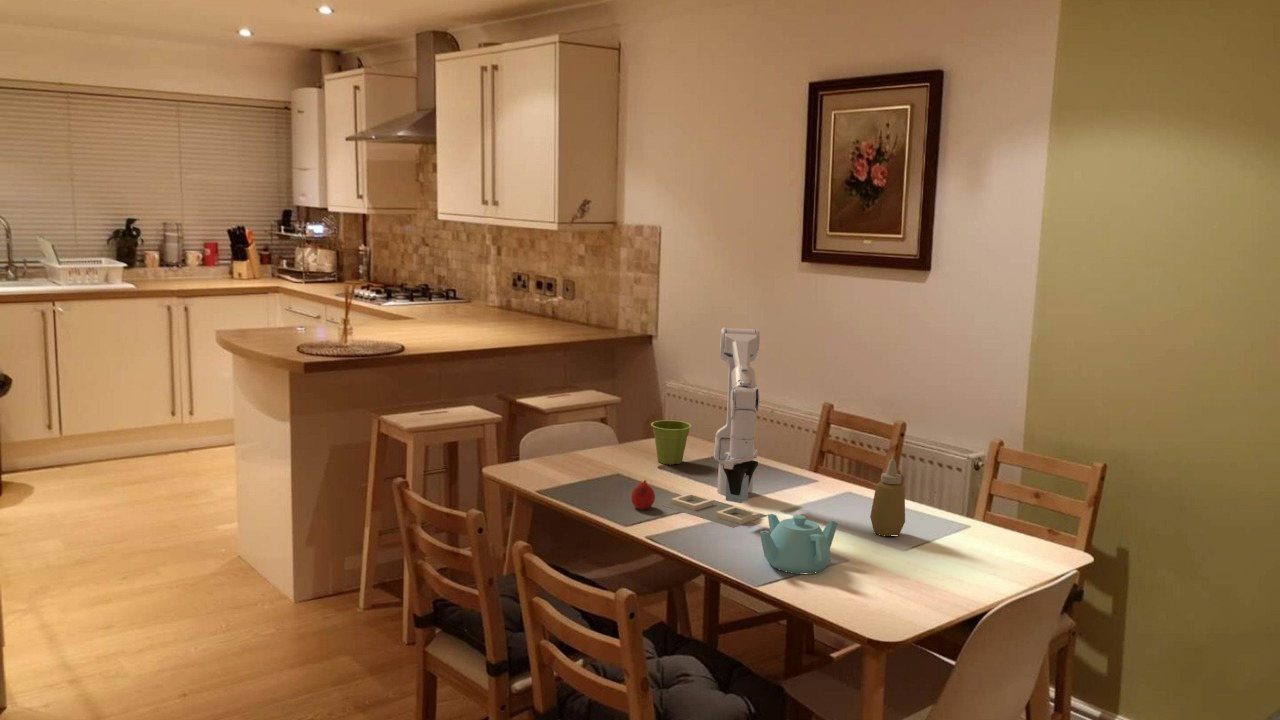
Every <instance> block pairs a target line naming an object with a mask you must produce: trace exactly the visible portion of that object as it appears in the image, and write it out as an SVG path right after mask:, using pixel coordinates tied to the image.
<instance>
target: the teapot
mask: <svg viewBox="0 0 1280 720" xmlns="http://www.w3.org/2000/svg"><path fill="white" fill-rule="evenodd" d="M767 515H768V516H767V519H768V525H769V531H768V530H761V531H759V535H760V540H761V546H762V550H763V555H764V558H765V559H766V562H768V564H769V565H770V566H771V565H772V566H773V567H772V566H771V567H772V568H774V567H775V568H777V569H780V570H783V571H787V572H792V573H814V574H816V573H815V572H818V573H820V572H822V571H823V570H824V569H826V567H827V566H829V564H830V562H831V550H830V549H831V547H832V543H833V539H834V536H835V533H836V531H837V527H838V524H839V523H838V521H835V520H831V521H829V520H828V523H827V525H826V526H825V527H824V528H823V530H822V528H821V527H820V525H819V524H818V523H816V522H815V521H813V520H809V519H807V516H805V515H801V514H796V515H795V514H794V515H793V516H792V518H787V519H786V518H785V519H783V520H781V521H780V520H779V517H778V516H777V514H774V513H770V514H767ZM775 568H774V569H775ZM777 569H776V570H777ZM780 570H779V571H780ZM821 570H822V571H821ZM783 571H782V572H783ZM819 571H820V572H819ZM787 572H786V573H787ZM792 573H791V574H792Z"/></svg>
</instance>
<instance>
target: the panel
mask: <svg viewBox="0 0 1280 720" xmlns="http://www.w3.org/2000/svg"><path fill="white" fill-rule="evenodd" d="M662 507H664V508H668V509H670V510H671V509H672V510H675V511H676V512H677V511H678V512H681V513H684V514H687V515H690V516H693V517H698V518H701V519H703V520H707V521H710V522H714V523H716V524H720V525H724V526H727V527H730V528H733V529H734V528H736V527H739V526H742V525H745V524H748V523H751V522H753V521H756V520H760V519H762V518H765V517H768V514H764V513H760V512H758V511H753V510H750V509H747V508H743V507H739V506H737V505H733V504H729V503H725V502H723V501H719V500H715V499H712V498H709V497H705V496H702V495H697V494H694V493H691V492H690V493H687V494H683V495H679V496H677V497H673V498H670V503H667V504H662Z"/></svg>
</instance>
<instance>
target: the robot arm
mask: <svg viewBox="0 0 1280 720" xmlns="http://www.w3.org/2000/svg"><path fill="white" fill-rule="evenodd" d="M719 335H720V337H719V356H720V360H723V361H724V362H726V365H727V369H728V374H727V375H728V378H727V400H726V401H727V402H726V404H727V406H726V407H727V408H726V424H725V425H723V426H722V427H720V428H719V429H718V430H716V432H715V438H714V443H713V445H714V447H713V448H714V449H713V457H714V460H715V461H716V462H718V472H717V473H718V474H717V487H716V488H717V491H716V493H717V494H719V495H722V496H725V497H726V480H727V479H728V483H729V489H730V493H731V494H733V495H739V494H740V491H741V486H742V481H743V477H744V475H745V473H746V475H749V486H748V494H749V493H751V494H755V492H753V488H754V486H753V484H754V473H755V470H756V469H757V467H758V465H759V461H757V460H755V459H757V458H758V451H759V450H758V449H755V438H756V437H755V435H756V420H757V412H758V411H759V407H760V389H759V386H758V385H757V384H756V383H757V382H756V372H755V370H754V368H753V367H752V366H751V362H754V361H755V360H756V357H757V356H758V352H759V351H760V345H761V343H760V341H761V331H759V329H758V328H755V329H753V328H735V327H734V328H730V327H727V328H726V327H725V326H723V327H722V328H721V330H720V334H719ZM725 436H726V437H725ZM727 436H729V437H727Z"/></svg>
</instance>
